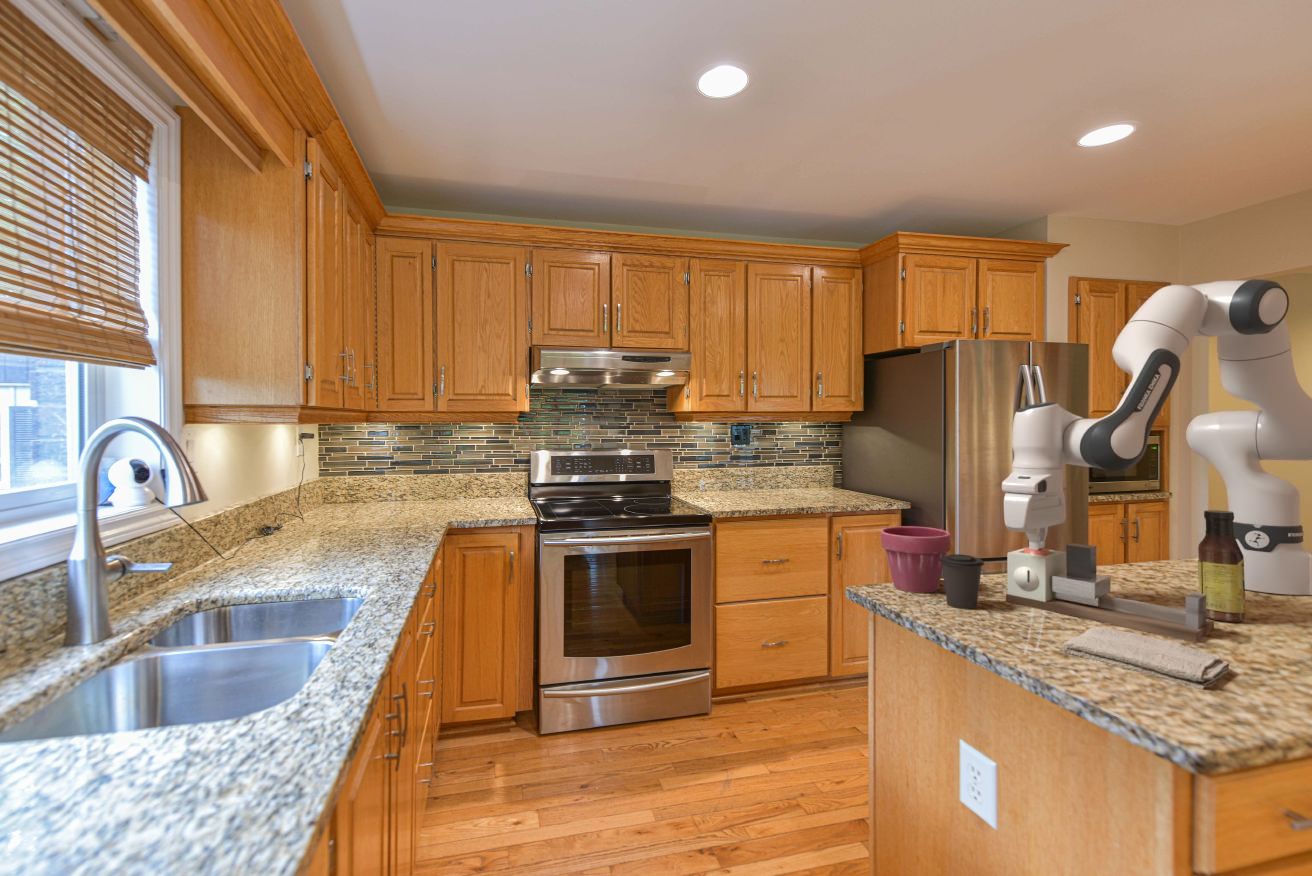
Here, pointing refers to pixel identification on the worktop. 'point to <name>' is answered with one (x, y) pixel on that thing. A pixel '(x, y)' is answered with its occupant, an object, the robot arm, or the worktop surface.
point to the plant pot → (915, 556)
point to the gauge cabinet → (1033, 573)
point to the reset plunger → (1037, 551)
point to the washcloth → (1149, 656)
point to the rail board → (1135, 614)
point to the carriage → (1081, 577)
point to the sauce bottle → (1221, 569)
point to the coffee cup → (961, 580)
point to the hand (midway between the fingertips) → (1036, 549)
